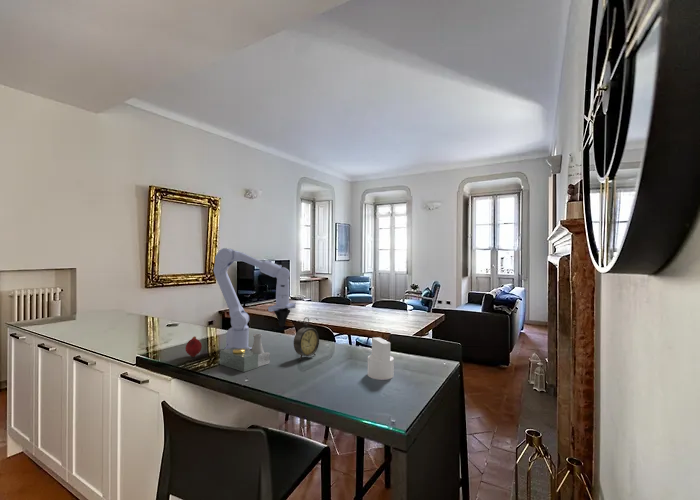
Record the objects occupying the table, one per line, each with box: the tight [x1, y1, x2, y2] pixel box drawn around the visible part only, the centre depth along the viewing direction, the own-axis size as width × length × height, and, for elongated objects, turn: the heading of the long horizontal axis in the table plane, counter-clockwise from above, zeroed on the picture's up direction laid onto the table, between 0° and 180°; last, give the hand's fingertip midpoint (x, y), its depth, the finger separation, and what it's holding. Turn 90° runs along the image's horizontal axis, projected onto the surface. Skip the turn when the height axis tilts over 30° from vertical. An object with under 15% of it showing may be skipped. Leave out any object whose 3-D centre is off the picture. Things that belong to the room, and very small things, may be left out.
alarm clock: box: [293, 316, 320, 361], centre depth 137 cm, size 11×5×16 cm, turn 143°
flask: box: [250, 333, 265, 354], centre depth 132 cm, size 7×7×10 cm
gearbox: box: [219, 346, 271, 373], centre depth 127 cm, size 14×12×6 cm
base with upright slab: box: [367, 336, 395, 381], centre depth 118 cm, size 9×9×12 cm
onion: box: [185, 336, 203, 358], centre depth 134 cm, size 6×6×8 cm
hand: (281, 326), depth 149 cm, fingers closed
